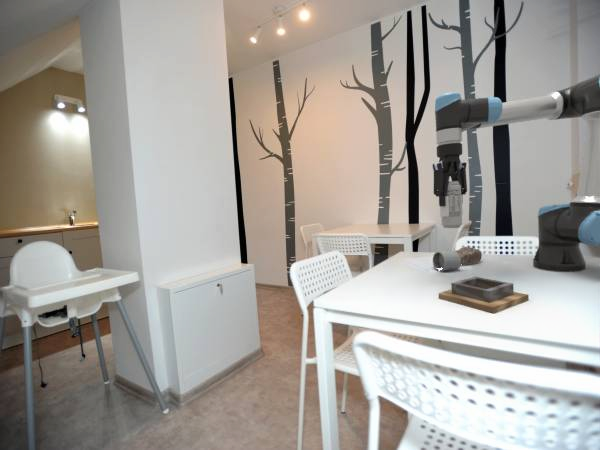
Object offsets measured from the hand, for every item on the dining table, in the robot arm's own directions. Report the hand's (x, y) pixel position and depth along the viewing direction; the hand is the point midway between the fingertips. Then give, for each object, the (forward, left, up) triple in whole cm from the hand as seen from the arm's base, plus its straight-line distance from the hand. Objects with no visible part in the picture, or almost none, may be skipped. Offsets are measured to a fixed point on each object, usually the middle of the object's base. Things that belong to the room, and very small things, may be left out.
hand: (451, 215), depth 106 cm
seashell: (-30, -17, -23) cm, 42 cm away
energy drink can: (0, 0, -4) cm, 4 cm away
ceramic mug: (-15, -15, -23) cm, 31 cm away
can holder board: (+8, +15, -23) cm, 28 cm away
